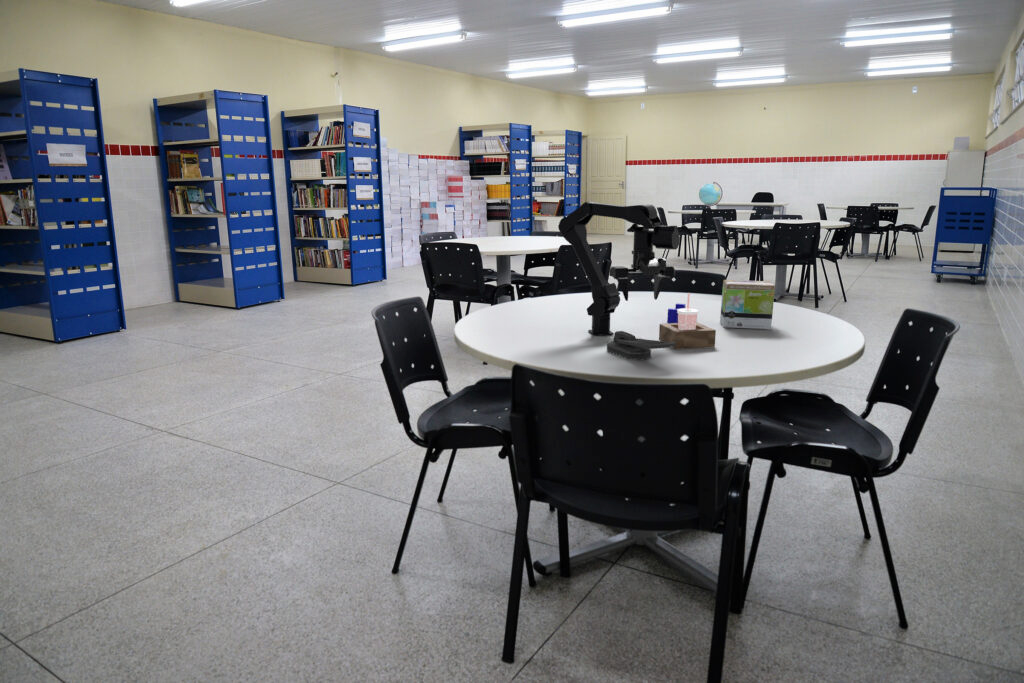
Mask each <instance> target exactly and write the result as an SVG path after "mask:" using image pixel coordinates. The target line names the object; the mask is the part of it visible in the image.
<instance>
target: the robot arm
mask: <svg viewBox="0 0 1024 683" xmlns="http://www.w3.org/2000/svg"><path fill="white" fill-rule="evenodd" d="M594 216H597V217H605V218H606V217H607V218H612V219H621V220H624V221H626V222H628V223H632V225H631V226H630V227H629V228H627V230H626V231H627V232H628V233H633V244H632V246H633V247H632V248H633V250H631V255H632V264H630V268H628V267H625V266H623V265H622V266H618V265H617V266H614V265H613V266H611V267H610V269H609V274H608V275H609V277H612V278H613V279H615V280H616V281H617V283H618V284H619V286H620V289H621V292H622V295H623V298H624V300H625V301H629V281H630V278H628V277H629V276H632V275H633V276H635V275H643V276H644V277H645V276H646V277H649V276H653V300H658V298H659V295H660V292H661V290H662V288H663V285H664V284H665V282H666V281H667V280H670V279H671V277H675V276H676V269H675V267H674V266H673V265H669V264H667V259H666V258H665V257H659V258H656V256H655V252H654V247H655V249H659V250H660V249H661V250H674V251H675V250H678V249H679V246H680V243H681V236H680V233H679V230H678V225H664V223H663V221H662V220H661V219H660V217H659V215H658V211H657V209H656V207H655V205H653V204H637V205H619V204H611V203H604V202H603V203H601V202H596V201H585V202H583V203H582V204H581V205H580V206H579V207H577V208H576V209H575V210H573V211H572V212H571V213H569V214H568V215H567V216H563V217H562V218H561V219H560V221H559V223H558V226H557V228H558V230H559V232H560V234H561V235H562V237H563V238H564V240H565V241H566V242H567V243H569V244H570V245H571V246H572V247H573V250H574V251H575V252H574V253H575V254H576V256H577V258H578V260H579V263H580V264H581V267H582V269H583V271H584V273H585V275H586V277H587V279H588V281H589V283H590V285H591V299H592V301H593V302H592V303H591V304H590V305H589V306H588V307H587V308H586V311H587V315H588V316H590V317H591V329H588V330H587V331H588V333H590V334H591V335H593V336H607V335H608V336H611V335H614V334H615V332H614V331H611V314H614V313H615V311H616V308H618V307H619V305H620V302H621V297H620V295H621V293H620V291H619V290H618V287H617V285H616V283H615V282H613V283H610V282H609V281H607V280H606V278H605V276H604V273H603V271H602V269H601V268H600V265H599V263H598V261H597V258H596V256H595V254H594V252H593V250H592V249H591V246H590V244H589V242H588V238H587V235H588V234H587V232H588V231H587V225H588V223H590V221H591V220H592V218H593V217H594Z"/></svg>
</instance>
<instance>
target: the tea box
mask: <svg viewBox="0 0 1024 683" xmlns="http://www.w3.org/2000/svg"><path fill="white" fill-rule="evenodd" d="M775 290H776V285H775V284H773V283H772V282H771V281H769V280H768V281H767V280H739V279H738V280H737V279H723V283H722V292H721V306H720V317H719V319H720V320H719V322H720V323H721V325H722V328H724V329H725V328H739V329H751V330H754V329H755V330H756V329H757V330H758V329H759V330H767V331H768V330H769V331H770V330H771V329H772V323H773V322H772V321H773V314H774V313H773V312H774V304H775V303H774V300H775V292H776V291H775Z"/></svg>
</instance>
